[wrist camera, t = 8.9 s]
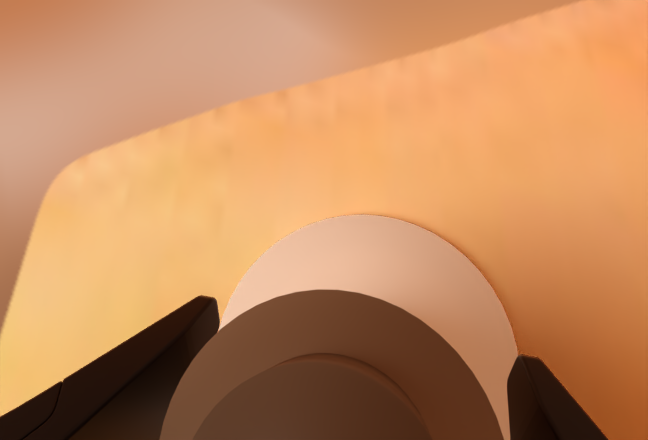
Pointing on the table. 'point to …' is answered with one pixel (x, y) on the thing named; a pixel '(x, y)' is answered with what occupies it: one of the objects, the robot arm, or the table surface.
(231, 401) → the pepper mill
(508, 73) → the table surface
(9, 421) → the robot arm
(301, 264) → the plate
